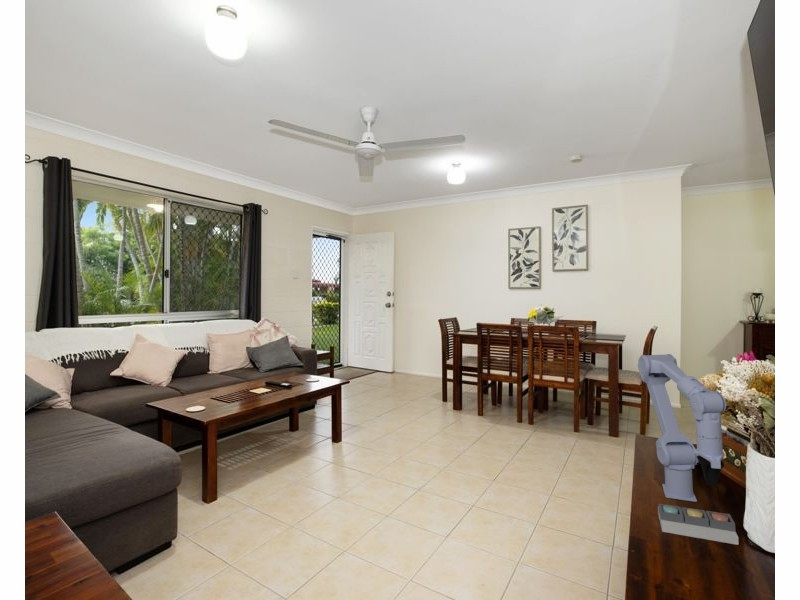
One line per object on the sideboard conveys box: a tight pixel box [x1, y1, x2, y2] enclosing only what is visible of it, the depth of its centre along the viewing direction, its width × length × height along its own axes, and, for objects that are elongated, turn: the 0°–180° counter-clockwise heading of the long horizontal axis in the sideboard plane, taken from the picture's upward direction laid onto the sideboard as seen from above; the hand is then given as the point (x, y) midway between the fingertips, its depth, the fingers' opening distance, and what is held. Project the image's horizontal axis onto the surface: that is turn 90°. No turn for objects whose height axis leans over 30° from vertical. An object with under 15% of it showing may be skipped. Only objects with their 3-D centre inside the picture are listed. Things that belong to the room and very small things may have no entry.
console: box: [657, 503, 739, 545], centre depth 111 cm, size 10×16×4 cm, turn 64°
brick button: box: [712, 511, 728, 522], centre depth 109 cm, size 3×3×2 cm
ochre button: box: [687, 508, 703, 518], centre depth 111 cm, size 3×3×2 cm
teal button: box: [663, 504, 678, 514], centre depth 114 cm, size 3×3×2 cm
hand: (711, 484), depth 115 cm, fingers closed
